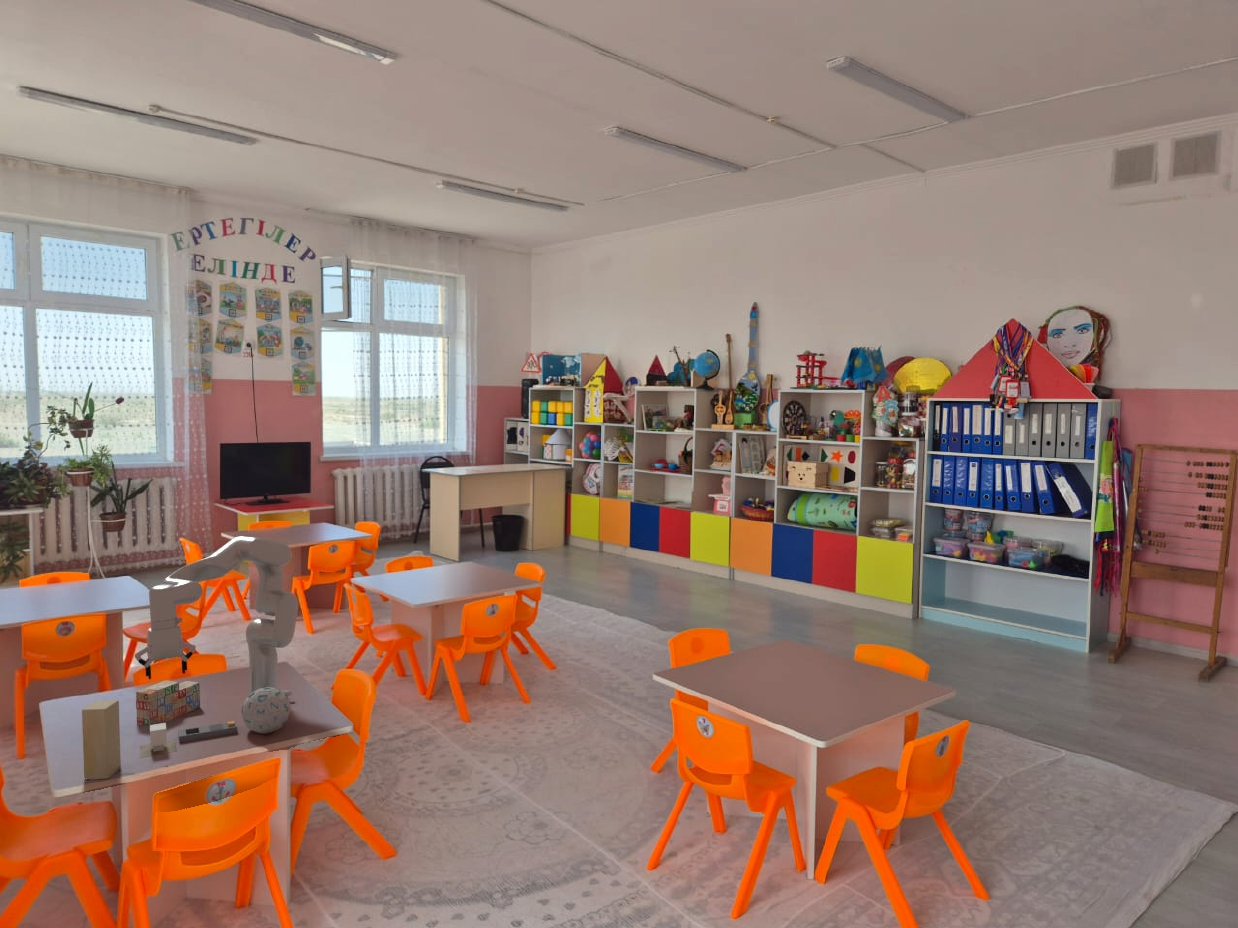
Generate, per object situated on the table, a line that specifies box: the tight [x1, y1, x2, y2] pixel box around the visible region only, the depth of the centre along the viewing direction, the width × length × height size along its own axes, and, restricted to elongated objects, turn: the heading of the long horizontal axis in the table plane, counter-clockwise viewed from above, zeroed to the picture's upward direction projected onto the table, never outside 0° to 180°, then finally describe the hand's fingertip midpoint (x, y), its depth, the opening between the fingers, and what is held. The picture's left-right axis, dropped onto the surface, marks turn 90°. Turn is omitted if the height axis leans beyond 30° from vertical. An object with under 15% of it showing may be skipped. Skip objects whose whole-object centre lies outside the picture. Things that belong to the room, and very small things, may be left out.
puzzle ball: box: [241, 687, 291, 735], centre depth 278 cm, size 15×15×15 cm
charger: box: [149, 722, 168, 752], centre depth 261 cm, size 4×6×7 cm
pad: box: [139, 739, 178, 759], centre depth 261 cm, size 10×10×1 cm
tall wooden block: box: [81, 699, 122, 780], centre depth 245 cm, size 8×7×21 cm
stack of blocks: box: [135, 679, 201, 726], centre depth 291 cm, size 21×6×12 cm, turn 161°
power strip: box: [177, 720, 238, 743], centre depth 273 cm, size 17×6×4 cm, turn 121°
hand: (166, 675), depth 267 cm, fingers open, 9 cm apart
